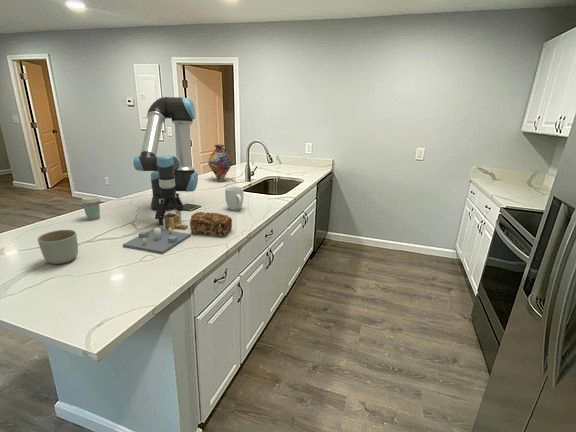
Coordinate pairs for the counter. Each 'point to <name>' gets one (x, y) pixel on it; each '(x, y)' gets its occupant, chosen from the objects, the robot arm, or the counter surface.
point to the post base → (157, 240)
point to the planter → (59, 246)
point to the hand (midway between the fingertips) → (171, 226)
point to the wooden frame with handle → (173, 222)
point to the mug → (234, 197)
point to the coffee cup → (91, 207)
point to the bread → (210, 224)
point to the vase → (220, 163)
